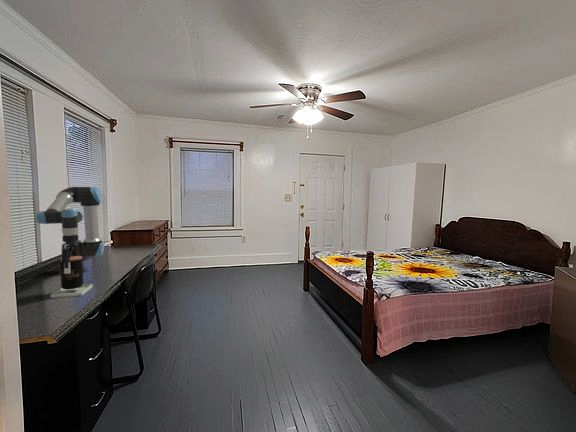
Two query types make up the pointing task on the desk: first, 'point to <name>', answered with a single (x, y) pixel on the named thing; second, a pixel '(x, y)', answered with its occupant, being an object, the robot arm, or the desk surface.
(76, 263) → the coffee jar
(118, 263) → the desk surface
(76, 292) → the sage tray
